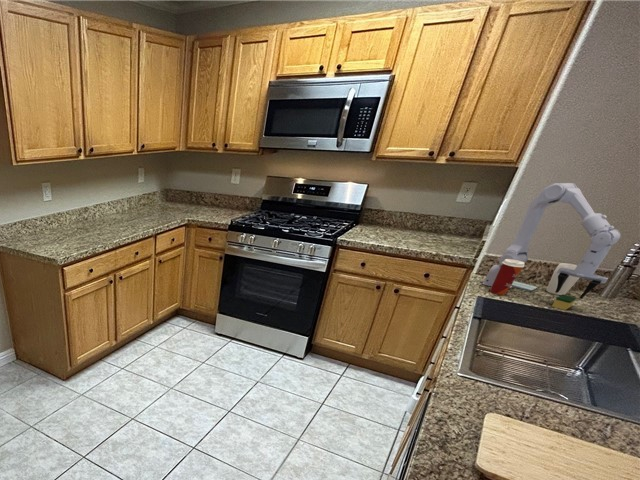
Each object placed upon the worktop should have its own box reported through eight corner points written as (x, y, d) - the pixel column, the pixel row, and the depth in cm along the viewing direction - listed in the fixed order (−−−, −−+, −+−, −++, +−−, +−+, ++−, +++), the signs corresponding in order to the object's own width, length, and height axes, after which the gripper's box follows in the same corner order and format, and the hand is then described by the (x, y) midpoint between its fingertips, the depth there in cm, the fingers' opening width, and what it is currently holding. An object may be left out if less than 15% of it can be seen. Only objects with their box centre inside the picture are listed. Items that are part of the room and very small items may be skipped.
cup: (564, 291, 188) (581, 265, 181) (571, 297, 181) (589, 270, 174) (540, 287, 191) (555, 261, 184) (545, 293, 184) (562, 267, 178)
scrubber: (565, 310, 169) (571, 300, 166) (551, 306, 172) (557, 297, 169) (570, 306, 172) (576, 297, 170) (556, 303, 175) (562, 294, 173)
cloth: (502, 283, 194) (503, 282, 193) (508, 281, 197) (509, 279, 197) (530, 291, 186) (531, 290, 186) (537, 288, 190) (537, 286, 190)
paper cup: (508, 297, 179) (526, 265, 171) (486, 292, 183) (503, 261, 175) (508, 292, 184) (525, 261, 177) (487, 288, 188) (503, 257, 180)
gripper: (563, 258, 164) (543, 291, 172) (612, 268, 154) (589, 302, 162) (568, 256, 168) (549, 288, 175) (617, 266, 158) (594, 299, 165)
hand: (568, 295), depth 169 cm, fingers open, 7 cm apart
